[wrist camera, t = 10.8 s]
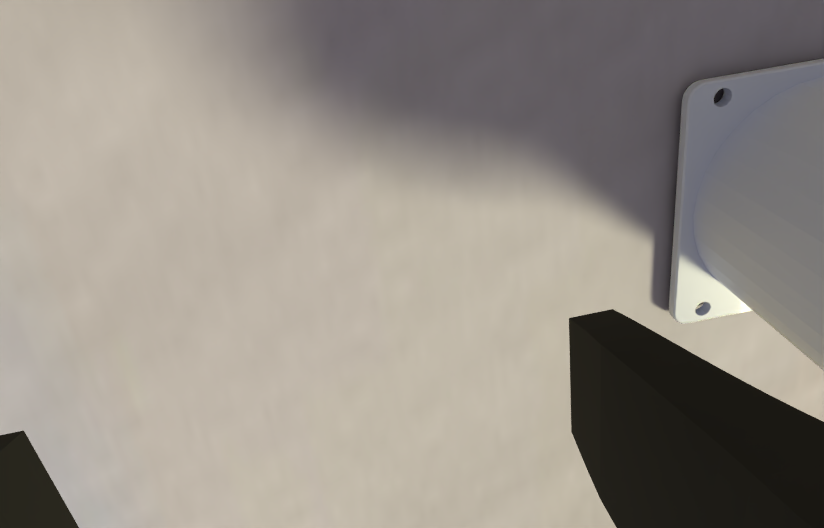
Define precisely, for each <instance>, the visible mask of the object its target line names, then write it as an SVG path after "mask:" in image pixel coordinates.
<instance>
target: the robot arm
mask: <svg viewBox="0 0 824 528" xmlns="http://www.w3.org/2000/svg"><path fill="white" fill-rule="evenodd" d="M722 88H723V90H724V94H723V97H722V99H721V100H720V101H719V102H717V103H715V104H714V97H715V94H716V93H717V92H718V91H719V90H720V89H722ZM702 302H704V303H703V305H702V306H701V307H700V308H698V309H696V307H697V306H698V305H699V304H700V303H702ZM752 310H753V311H754V312H755V313H756V314H758V315H759V316H760V317H761V318H762V319H763V320H765V321H766V322H767V323H768V324H769V325H771V326H772V327H773V328H774V329H775V330H776V331H778V332H779V333H780V334H781V335H782V336H783V337H785V338H786V339H787V340H788V341H789V342H790V343H792V344H793V345H794V346H795V347H796V348H798V349H799V350H800V351H801V352H802V353H803V354H805V355H806V356H807V357H808V358H809V359H810V360H812V361H813V362H814V363H815V364H816V365H817V366H819V367H820V368H821V369H822V370H823V371H824V58H823V59H818V60H812V61H806V62H800V63H795V64H789V65H783V66H777V67H772V68H766V69H760V70H754V71H749V72H743V73H737V74H732V75H726V76H720V77H714V78H709V79H703V80H699V81H696V82H694V83H692V84H691V85H690V86H689V87H688V88H687V89H686V91H685V93H684V95H683V99H682V109H681V125H680V141H679V156H678V172H677V188H676V203H675V219H674V235H673V250H672V266H671V282H670V297H669V313H670V315H671V316H672V317H673V318H674V319H675V320H676V321H677V322H679V323H681V324H682V323H691V322H696V321H701V320H707V319H712V318H717V317H722V316H727V315H732V314H737V313H742V312H747V311H752ZM569 335H570V380H571V425H572V434H573V436H574V439H575V441H576V444H577V446H578V448H579V451H580V453H581V456H582V458H583V460H584V463H585V465H586V468H587V470H588V472H589V474H590V477H591V479H592V481H593V483H594V486H595V488H596V490H597V492H598V495H599V497H600V499H601V501H602V503H603V504H604V506H605V508H606V510H607V511H608V513H609V515H610V517H611V519H612V520H613V522H614V524H615V526H616V527H617V528H824V422H823V421H821V420H818V419H816V418H814V417H812V416H810V415H808V414H806V413H804V412H802V411H800V410H798V409H796V408H794V407H792V406H790V405H788V404H786V403H784V402H782V401H780V400H778V399H776V398H774V397H772V396H770V395H768V394H766V393H764V392H762V391H761V390H759V389H757V388H755V387H753V386H751V385H749V384H747V383H745V382H743V381H742V380H740V379H738V378H736V377H734V376H732V375H731V374H729V373H727V372H725V371H723V370H721V369H719V368H718V367H716V366H714V365H712V364H710V363H709V362H707V361H705V360H703V359H701V358H700V357H698V356H696V355H694V354H692V353H691V352H689V351H687V350H685V349H684V348H682V347H680V346H678V345H676V344H675V343H673V342H671V341H669V340H668V339H666V338H664V337H662V336H661V335H659V334H657V333H655V332H653V331H652V330H650V329H648V328H646V327H645V326H643V325H641V324H639V323H637V322H636V321H634V320H632V319H630V318H628V317H626V316H625V315H623V314H621V313H619V312H617V311H615V310H613V309H612V310H607V311H602V312H597V313H592V314H587V315H582V316H578V317H573V318H569ZM0 528H79V527H78V525H77V524H76V522H75V520H74V518H73V517H72V515H71V513H70V511H69V510H68V508H67V506H66V504H65V503H64V501H63V499H62V497H61V496H60V494H59V492H58V490H57V488H56V487H55V485H54V483H53V481H52V480H51V478H50V476H49V474H48V473H47V471H46V469H45V467H44V466H43V464H42V462H41V460H40V459H39V457H38V455H37V453H36V452H35V450H34V448H33V446H32V445H31V443H30V441H29V439H28V437H27V436H26V434H25V432H24V431H20V432H15V433H10V434H5V435H0Z"/></svg>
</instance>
